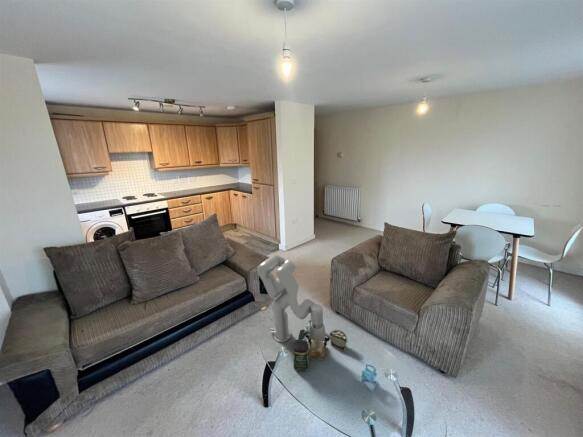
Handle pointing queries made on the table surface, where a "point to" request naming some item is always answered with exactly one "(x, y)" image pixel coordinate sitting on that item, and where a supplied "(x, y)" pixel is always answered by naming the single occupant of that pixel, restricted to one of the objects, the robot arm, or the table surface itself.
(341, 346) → the food container
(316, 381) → the table surface
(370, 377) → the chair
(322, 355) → the pedestal
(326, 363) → the table surface
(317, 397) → the table surface
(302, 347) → the coffee jar
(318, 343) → the beech cube
